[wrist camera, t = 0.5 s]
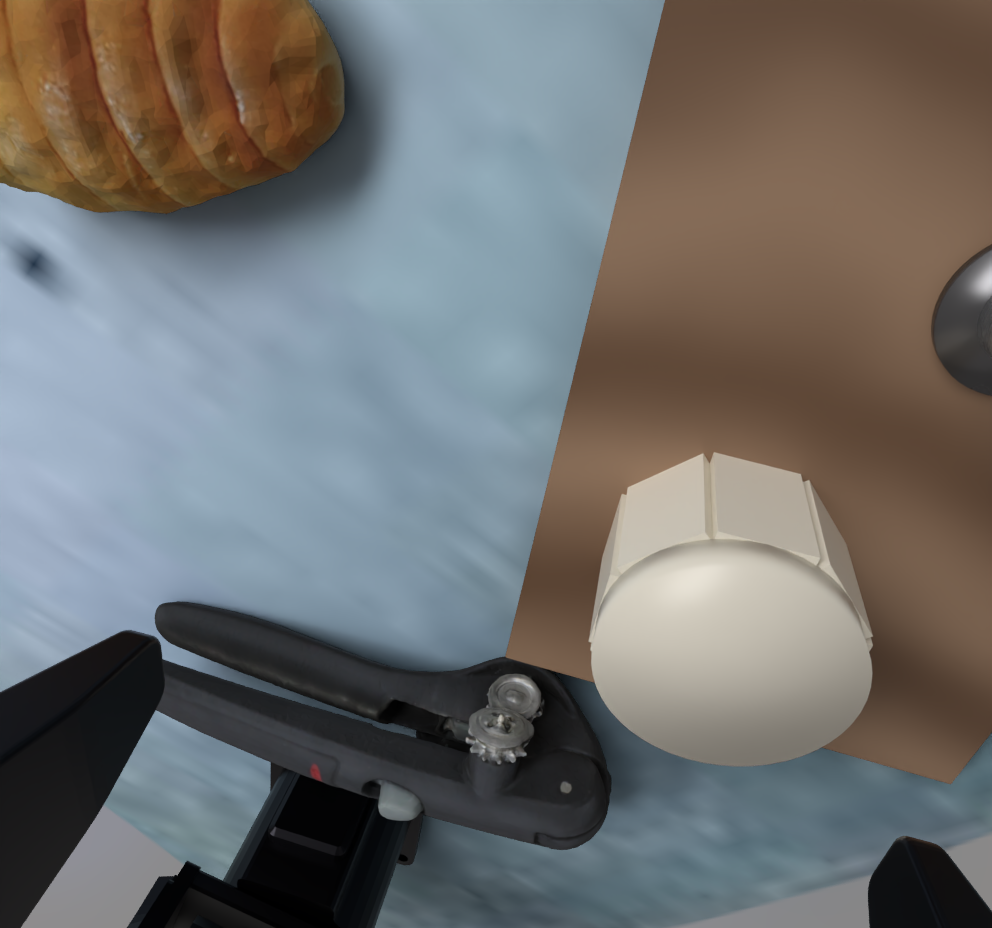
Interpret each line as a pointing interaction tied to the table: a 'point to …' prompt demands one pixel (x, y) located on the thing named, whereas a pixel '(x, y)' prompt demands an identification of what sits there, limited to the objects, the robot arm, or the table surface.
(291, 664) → the can opener
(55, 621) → the table surface
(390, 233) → the table surface
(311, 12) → the pastry
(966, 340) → the door knob
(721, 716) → the cap
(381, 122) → the table surface
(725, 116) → the board
